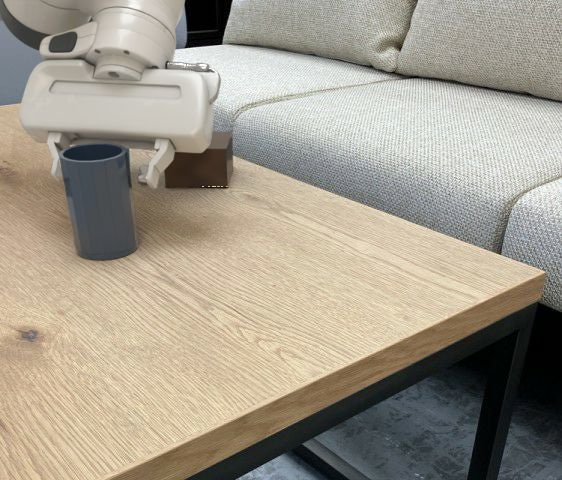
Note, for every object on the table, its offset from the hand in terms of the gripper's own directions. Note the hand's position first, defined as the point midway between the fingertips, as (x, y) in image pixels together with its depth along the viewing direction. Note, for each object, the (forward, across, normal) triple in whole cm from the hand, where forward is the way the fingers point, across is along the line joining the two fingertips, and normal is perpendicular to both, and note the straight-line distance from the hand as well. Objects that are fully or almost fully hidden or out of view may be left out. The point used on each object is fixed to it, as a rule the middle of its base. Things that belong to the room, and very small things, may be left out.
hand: (103, 182), depth 71 cm
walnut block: (-11, -2, -21) cm, 24 cm away
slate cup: (+6, 0, -4) cm, 7 cm away
